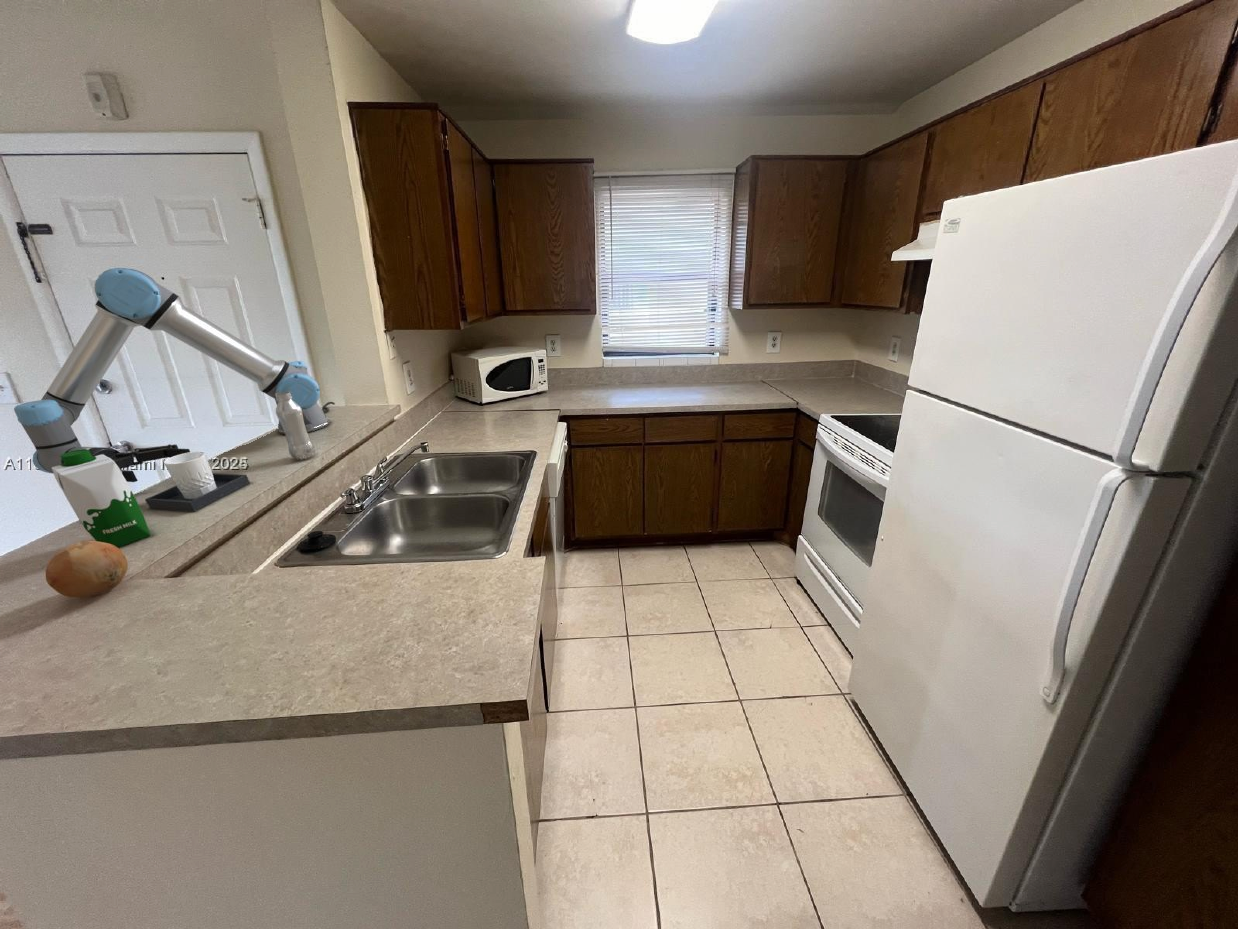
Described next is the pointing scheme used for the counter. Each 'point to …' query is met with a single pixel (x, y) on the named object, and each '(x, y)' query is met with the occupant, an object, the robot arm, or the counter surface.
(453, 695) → the counter surface
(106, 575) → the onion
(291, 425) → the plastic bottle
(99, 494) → the milk carton
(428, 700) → the counter surface
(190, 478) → the white cup
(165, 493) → the baking tray
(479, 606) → the counter surface
